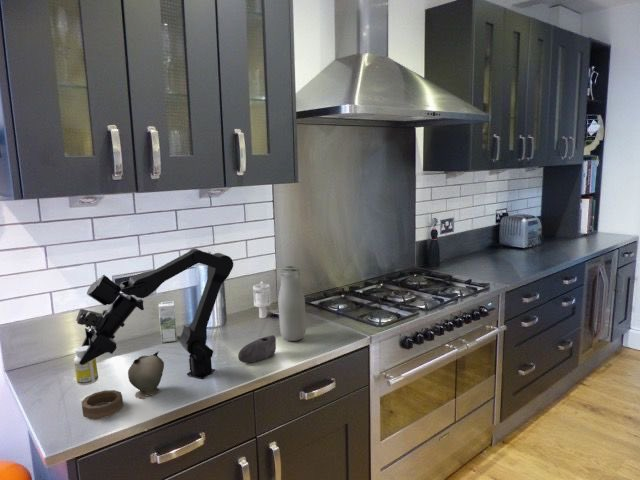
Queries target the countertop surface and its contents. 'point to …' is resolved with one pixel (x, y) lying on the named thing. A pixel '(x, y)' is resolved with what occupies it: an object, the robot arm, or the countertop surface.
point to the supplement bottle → (85, 368)
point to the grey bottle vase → (291, 305)
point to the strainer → (261, 298)
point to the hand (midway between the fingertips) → (79, 360)
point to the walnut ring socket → (103, 410)
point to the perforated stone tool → (258, 350)
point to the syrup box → (167, 321)
